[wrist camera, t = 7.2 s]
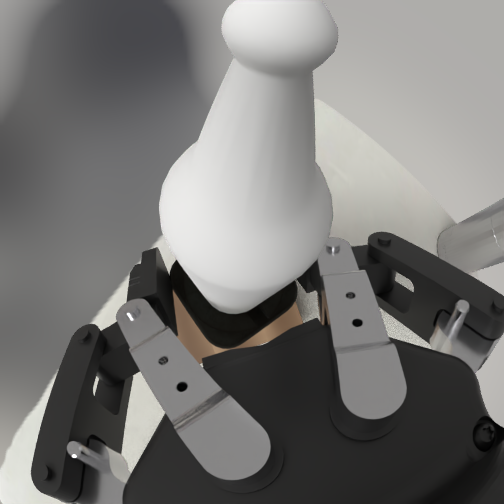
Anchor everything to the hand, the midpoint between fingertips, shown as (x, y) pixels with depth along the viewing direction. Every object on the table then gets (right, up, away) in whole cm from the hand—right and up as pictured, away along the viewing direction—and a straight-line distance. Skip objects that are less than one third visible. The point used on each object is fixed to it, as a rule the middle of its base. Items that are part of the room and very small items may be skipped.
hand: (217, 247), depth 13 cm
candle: (0, -5, +13) cm, 14 cm away
